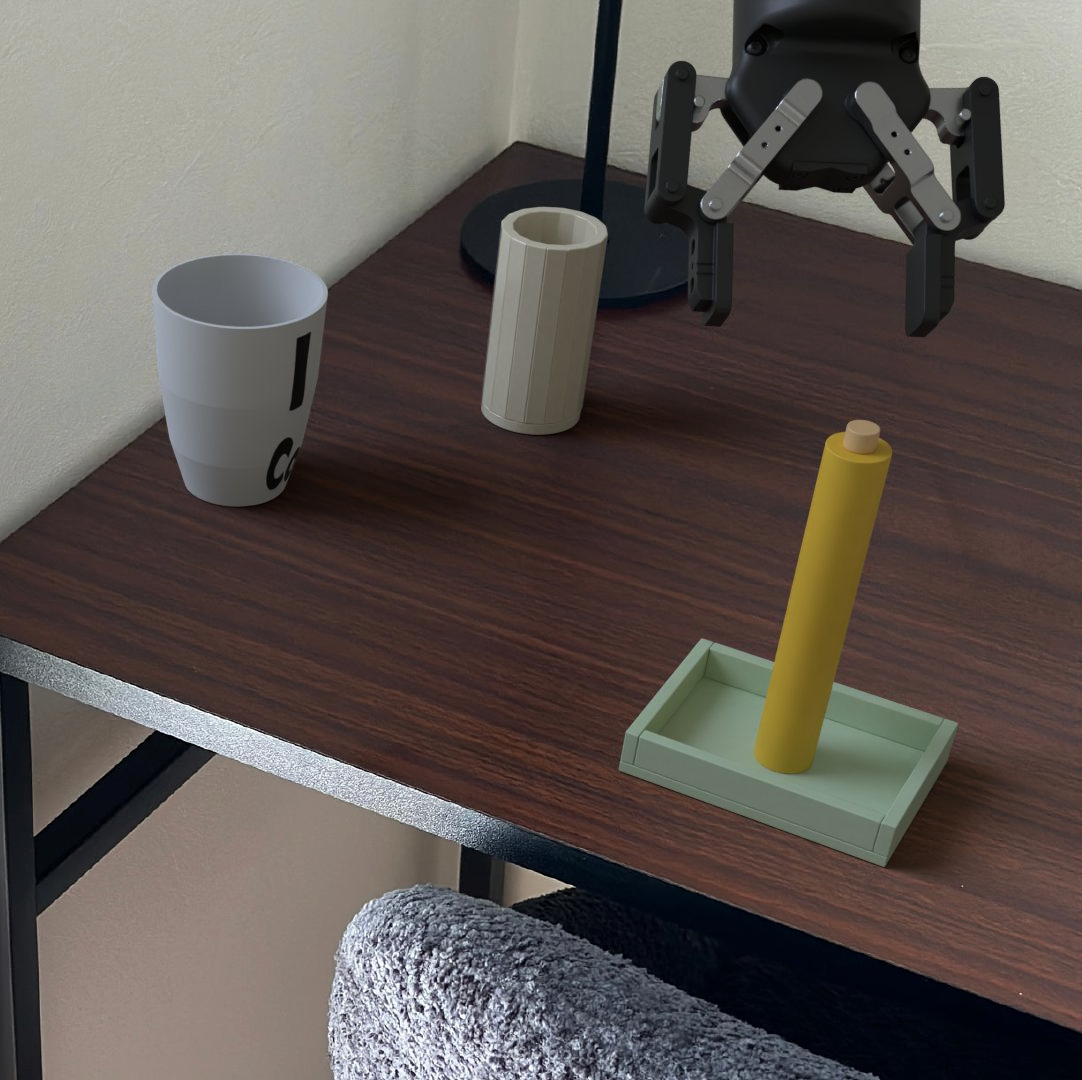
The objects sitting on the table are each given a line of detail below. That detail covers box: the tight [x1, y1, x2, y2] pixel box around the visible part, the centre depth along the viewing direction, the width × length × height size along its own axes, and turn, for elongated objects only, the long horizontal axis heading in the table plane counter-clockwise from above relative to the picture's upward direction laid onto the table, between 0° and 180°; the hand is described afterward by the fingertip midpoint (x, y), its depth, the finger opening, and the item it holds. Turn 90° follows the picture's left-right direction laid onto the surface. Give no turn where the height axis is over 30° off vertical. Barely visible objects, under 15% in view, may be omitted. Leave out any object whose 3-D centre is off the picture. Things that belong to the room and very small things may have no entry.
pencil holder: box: [480, 206, 609, 436], centre depth 106 cm, size 5×5×10 cm
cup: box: [152, 253, 329, 507], centre depth 99 cm, size 8×8×10 cm
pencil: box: [754, 419, 893, 774], centre depth 81 cm, size 2×2×15 cm
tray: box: [618, 638, 960, 868], centre depth 85 cm, size 11×8×2 cm
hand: (820, 326), depth 85 cm, fingers open, 8 cm apart
